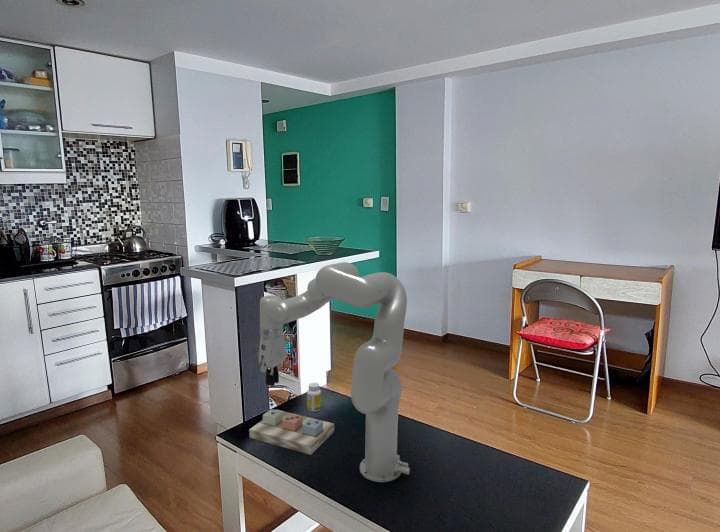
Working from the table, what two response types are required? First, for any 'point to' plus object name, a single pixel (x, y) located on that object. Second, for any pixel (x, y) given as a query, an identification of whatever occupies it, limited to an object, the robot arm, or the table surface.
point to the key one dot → (272, 417)
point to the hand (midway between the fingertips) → (272, 383)
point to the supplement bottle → (314, 397)
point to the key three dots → (292, 422)
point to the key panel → (291, 435)
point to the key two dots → (312, 427)
